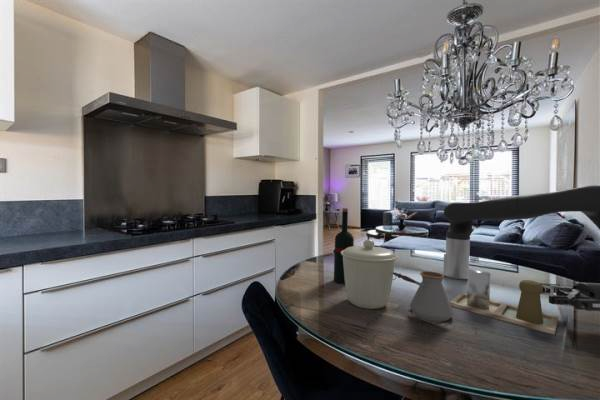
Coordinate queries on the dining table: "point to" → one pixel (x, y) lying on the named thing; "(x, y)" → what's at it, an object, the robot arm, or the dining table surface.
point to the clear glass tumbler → (478, 289)
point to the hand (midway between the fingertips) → (538, 294)
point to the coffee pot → (430, 298)
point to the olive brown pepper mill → (530, 302)
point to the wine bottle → (341, 248)
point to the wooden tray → (507, 314)
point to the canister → (368, 274)
